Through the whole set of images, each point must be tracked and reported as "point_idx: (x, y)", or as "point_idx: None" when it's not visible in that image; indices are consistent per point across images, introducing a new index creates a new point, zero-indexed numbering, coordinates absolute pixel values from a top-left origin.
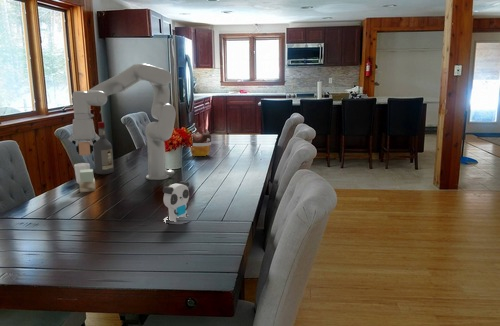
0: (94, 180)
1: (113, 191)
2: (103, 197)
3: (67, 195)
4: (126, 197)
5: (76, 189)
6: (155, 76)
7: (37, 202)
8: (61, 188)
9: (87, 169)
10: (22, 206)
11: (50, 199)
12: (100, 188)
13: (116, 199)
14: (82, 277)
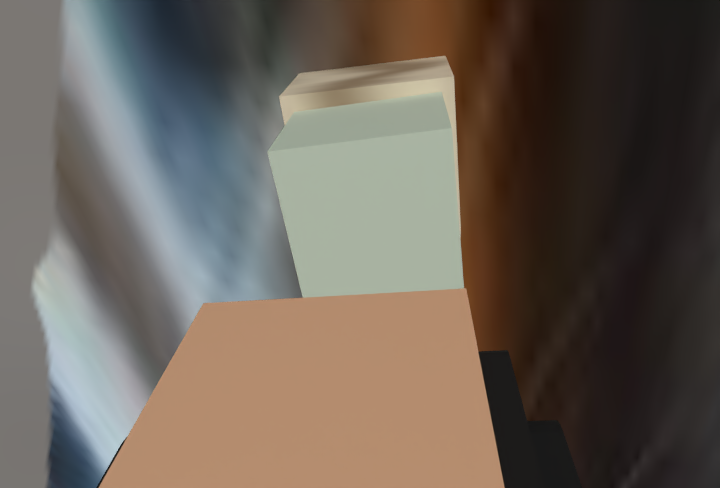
0: (457, 174)
1: (620, 243)
2: (529, 383)
3: (248, 286)
4: (696, 413)
5: (265, 107)
6: None
7: (109, 399)
8: (98, 35)
9: (369, 140)
10: (64, 448)
11: (163, 356)
12: (501, 111)
13: (618, 438)
14: None
